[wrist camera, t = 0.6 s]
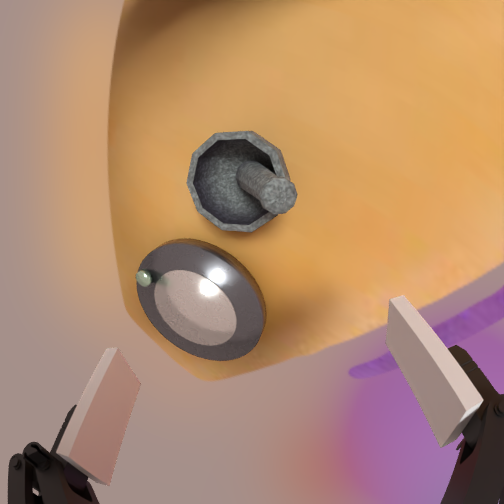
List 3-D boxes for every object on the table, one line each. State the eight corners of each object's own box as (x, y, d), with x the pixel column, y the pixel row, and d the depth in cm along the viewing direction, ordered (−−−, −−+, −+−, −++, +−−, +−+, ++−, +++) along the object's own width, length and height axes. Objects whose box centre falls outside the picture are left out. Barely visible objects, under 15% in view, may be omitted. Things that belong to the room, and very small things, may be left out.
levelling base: (130, 257, 42) (112, 270, 38) (228, 213, 34) (213, 225, 30) (189, 350, 48) (178, 367, 44) (290, 337, 39) (283, 358, 35)
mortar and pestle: (218, 208, 34) (164, 248, 23) (212, 133, 30) (150, 140, 19) (310, 213, 31) (293, 261, 20) (310, 130, 27) (293, 130, 16)
